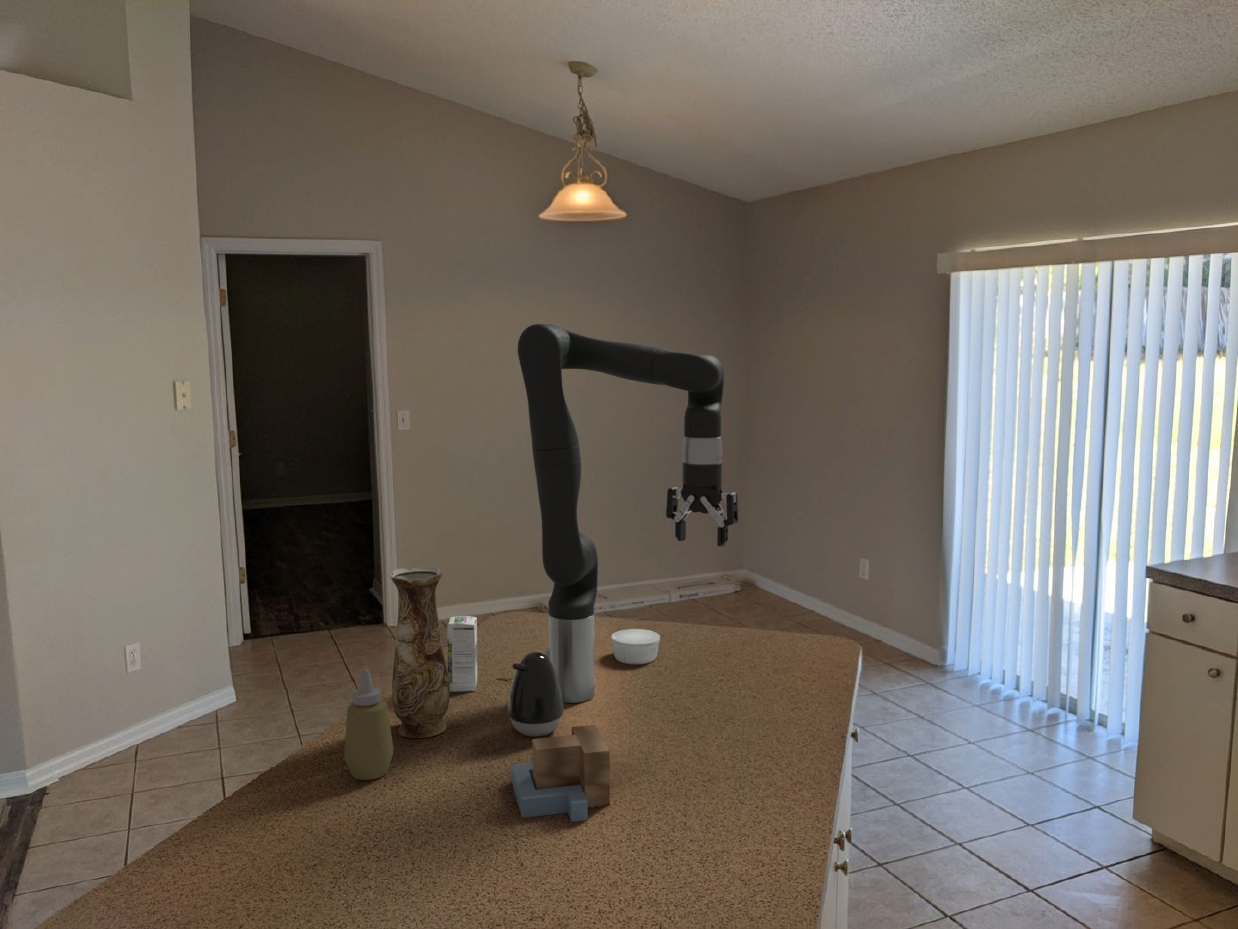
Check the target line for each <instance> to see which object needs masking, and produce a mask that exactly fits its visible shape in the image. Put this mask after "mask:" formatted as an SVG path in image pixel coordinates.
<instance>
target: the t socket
mask: <svg viewBox="0 0 1238 929" xmlns="http://www.w3.org/2000/svg"><path fill="white" fill-rule="evenodd" d="M510 767H511V768H510V769H511V785H512V788H513V790H514V791H513V792H514V794H515V795H514V796H515V799H516V802H517V807H518V809H519V812H520V813H519V814H520V817H521V819H525V818H534V817H541V816H548V815H549V816H551V815H558V814H565V813H567V814H568V817H569V819H570V822H571V823H575V822H577V823H578V822H583V821H588V820H589V817H588V816H589V815H588V813H589V812H588V811H589V808H588V801H587V799H586V797H585V795H584V792H583V790H582V788H581V785H573V786H565V787H556V788H548V789H539V790H535V787H534V784H533V761H531V762H523V763H522V762H521V763H514V764H513V763H512V764H511V766H510Z"/></svg>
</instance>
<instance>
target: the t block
mask: <svg viewBox="0 0 1238 929" xmlns="http://www.w3.org/2000/svg"><path fill="white" fill-rule="evenodd" d="M531 743H532V762H533V784H534V787H535V790H539V789H548V788H556V787H565V786H573V785H581V788H582V790H583V792H584V795H585V797H586V799H587V801H588V807H590V808H596V807H595V806H597V807H603V806H602V805H605V806H609V805H608V804H610V805H611V798H610V797H611V796H610V795H611V794H610V793H611V792H610V791H611V788H610V787H611V786H610V785H611V784H610V783H611V782H610V780H611V776H610V774H611V770H610V768H611V766H610V764H611V762H610V760H611V756H610V755H611V754H610V753H611V750H610V748H609V747H608V745H607V743H606V741H605V740H604V738H603V736H602V735H601V732H600V730H599V729H598V727H597V725H596V724H589V725H587V724H586V725H579V726H571V734H569V735H568V734H567V735H560V736H550V737H541V738H533V739H532V740H531ZM592 806H593V807H592Z"/></svg>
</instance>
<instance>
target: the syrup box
mask: <svg viewBox="0 0 1238 929" xmlns="http://www.w3.org/2000/svg"><path fill="white" fill-rule="evenodd" d="M446 627H447V628H446V629H447V630H446V632H447V633H446V634H447V635H446V636H447V639H446V640H447V643H446V644H447V672H448V679H449V693H451V692H452V693H455V692H456V693H457V692H458V693H459V692H475V691H476V688H477V683H478V617H476V616H468V615H467V616H466V615H461V616H460V615H459V616H457V615H456V616H451V617H450V618H449V621H448V624H447V626H446Z"/></svg>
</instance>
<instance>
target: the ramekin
mask: <svg viewBox="0 0 1238 929" xmlns="http://www.w3.org/2000/svg"><path fill="white" fill-rule="evenodd" d="M610 641H611V642H612V643H611V644H612V650H613V655H614V657H615V659H616V660H617V661H618V662H620V663H623V664H627V665H646V664H650V663H652V662H653V661H654V660H655V659H656V658H657V655H658V651H659V645H660V644H659V643H660V641H661V636H660V634H658V633H657V632H656V631H652V630H648V629H642V628H629V629H623V630H619V631H618V630H617V631H616V632H614V633H612V634H611V637H610Z"/></svg>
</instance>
